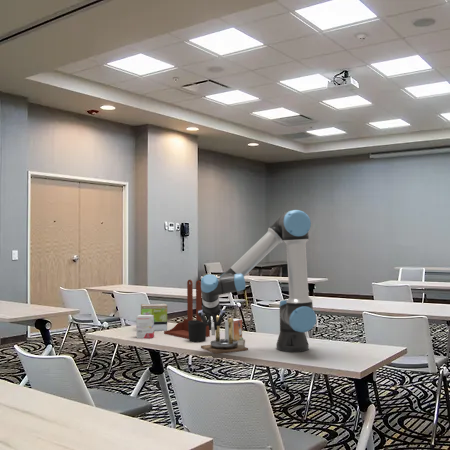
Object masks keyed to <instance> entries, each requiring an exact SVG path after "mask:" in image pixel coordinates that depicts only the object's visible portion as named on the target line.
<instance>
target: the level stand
mask: <svg viewBox="0 0 450 450" xmlns="http://www.w3.org/2000/svg"><path fill="white" fill-rule="evenodd" d="M200 349H203V350H205V351H208V352H210V353H213V354H216V355H219V354H220V355H221V354H222V355H223V354H230V353H237V352H245V351H246V352H247V351H249V347H246V339H245V338H243V336H242V337H241V338H239V340H238V346H237V347H234V348H213V347H211V344H205V345H200Z"/></svg>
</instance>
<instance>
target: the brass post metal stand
mask: <svg viewBox="0 0 450 450" xmlns="http://www.w3.org/2000/svg"><path fill="white" fill-rule="evenodd" d="M219 316H220V315H219V314H218V315H217V316H216V318H217V322H218V319H219ZM233 319H234V318H232V317H229V318H227V320H228V329H229V340H228V339H225V338H220V336H221V332H220V331H221V330H220V329H221V328H220V327H221V325H220V326H217V330H215V340H212V341H211V340H210V345H211V347H213V348H234V347H237V346H238V341H236V339H233V321H234V320H233Z"/></svg>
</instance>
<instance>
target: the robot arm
mask: <svg viewBox="0 0 450 450" xmlns="http://www.w3.org/2000/svg"><path fill="white" fill-rule="evenodd" d="M311 222H312V221H311V218H310V216H309V215H308V214H307V213H306V212H305V211H302V210H299V209H292V210H288V211H285V212H283V213H282V214H280V215H279V216H278V217H277V218H276V220H275V221H274V222H273V223H272V224H271V225H270V226H269V227H268V228H267V232H266V233H265V234H264V235H263V236H262V237H261V238H259V240H258V241H256V243H254V244H253V245H252V246H251V247H250V248H249V249H248V250H247V251H246V252H245V253H244V254H243V255H242V256H240V258H239V259H237V261H235V263H233V265H231V266H230V268H228V269H227V270H226V271H225V272H223V273H222V274H221V275H220V276H219V277H217V276H216V275H215V274H212V273H211V274H210V273H209V274H205V275H204V276H202V278H201V280H200V281H201V292H202V310H198V315H199V316H200V317H201V319H202V322H203V323H204V325H205V326H209V330H210V332H211V336H216V330H217V326H220V327H221V324H222V322H223V319H224V317H225V316H226V309H222V308H221V307H220V295H221V296H222V295H225V294H230V293H231V294H232V293H235V292H240V291H243V290H244V291H245V289H246V286H247V285H246V279H245V277H246V275H248V274H249V273H250V272H251V270H253V269H254V268H255V267H256V266H257V265H258V264H259V263H260V262H261V261H263V259H264V258H265V257H266V256H267V255H268V254H270V253H271V252H272V251H273V249H275V248H276V247H277V246H278V245H279V244H283V243H285V245H286V260H287V262H286V263H287V278H288V279H287V281H288V296H289V297H288V298H287V299H285V300H280V301H279V306H278V307H279V308H278V309H279V334H278V338H277V340H276V341H277V342H276V347H275V348H276V350H278V351H280V352H291V353H294V352H295V353H296V352H305V351H308V350H309V348H310V345H309V340H308V338H307V336H306V333H307V332H309V331H311V330H312V329H313V328H314V327H315V325H316V323H317V315H316V312H315V311H314V308H313V306H314V304H313V299H312V298H310V296H309V280H308V262H307V249H306V248H307V244H306V243H307V242H309V240H310V236H309V231H311V230H310V229H311V227H312V226H311V224H312V223H311ZM217 315H218V316H219V319H218V322H217V318H216V316H217ZM206 316H207V318H206ZM212 319H213V322H212Z"/></svg>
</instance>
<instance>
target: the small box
mask: <svg viewBox="0 0 450 450" xmlns="http://www.w3.org/2000/svg"><path fill="white" fill-rule="evenodd" d="M232 319H233V320H234V321H233V339H236V341H238V340H239V338H241V337H242V338H243V319H241V318H232ZM224 339H228V340H229V329H228V319H225V320H224Z"/></svg>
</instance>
